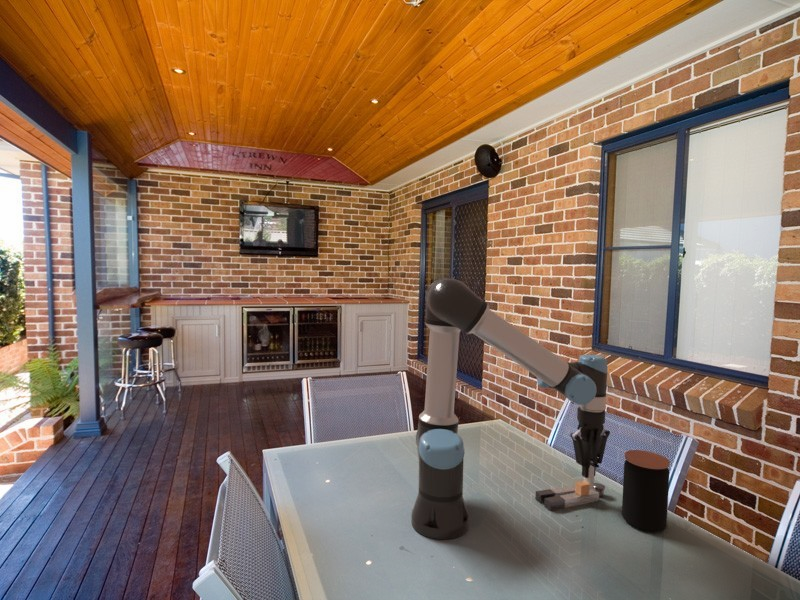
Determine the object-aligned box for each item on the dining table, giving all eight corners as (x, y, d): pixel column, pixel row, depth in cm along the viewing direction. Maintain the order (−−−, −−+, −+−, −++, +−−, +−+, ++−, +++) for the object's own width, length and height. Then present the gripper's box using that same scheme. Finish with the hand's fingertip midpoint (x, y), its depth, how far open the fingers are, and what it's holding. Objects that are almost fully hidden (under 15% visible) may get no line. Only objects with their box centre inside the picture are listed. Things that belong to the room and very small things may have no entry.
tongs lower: (598, 491, 139) (598, 482, 138) (609, 498, 134) (610, 488, 134) (539, 503, 131) (540, 493, 131) (550, 511, 127) (550, 501, 126)
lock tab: (583, 490, 134) (583, 480, 133) (589, 494, 131) (589, 484, 131) (574, 492, 133) (575, 482, 132) (580, 496, 130) (581, 485, 130)
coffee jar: (655, 513, 126) (658, 450, 125) (674, 535, 116) (678, 467, 114) (615, 511, 127) (618, 448, 126) (631, 532, 117) (634, 464, 116)
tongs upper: (585, 491, 138) (585, 484, 138) (590, 495, 136) (591, 487, 136) (535, 499, 133) (535, 491, 133) (540, 503, 131) (540, 495, 131)
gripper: (598, 402, 137) (595, 478, 139) (564, 406, 132) (561, 485, 134) (618, 410, 130) (615, 489, 132) (583, 414, 125) (579, 496, 127)
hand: (588, 487), depth 133 cm, fingers closed
